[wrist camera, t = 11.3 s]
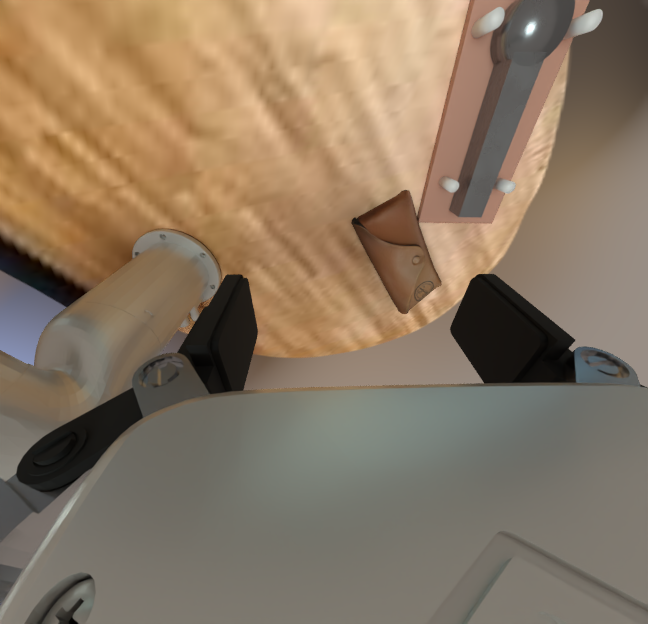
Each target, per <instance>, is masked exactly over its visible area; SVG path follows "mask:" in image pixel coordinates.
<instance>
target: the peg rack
mask: <svg viewBox="0 0 648 624" xmlns="http://www.w3.org/2000/svg"><path fill="white" fill-rule="evenodd" d="M514 1H515V0H470V4H469V8H468V12H467V16H466V21H465V25H464V29H463V33H462V37H461V41H460V45H459V49H458V53H457V57H456V61H455V65H454V69H453V73H452V78H451V82H450V86H449V90H448V94H447V98H446V102H445V106H444V110H443V114H442V118H441V122H440V126H439V130H438V135H437V139H436V143H435V147H434V151H433V155H432V159H431V163H430V167H429V171H428V175H427V179H426V183H425V187H424V192H423V196H422V200H421V204H420V208H419V212H418V216H417V220H418V222H433V223H492V222H493V220H494V218H495V215H496V213H497V211H498V208H499V206H500V204H501V202H502V199H503V197H504V195H505V193H511V192H512V191H513V190H514V189H515V186H516V185H515V183H514V182H512V181H511V179H512V176H513V174H514V172H515V170H516V167H517V165H518V163H519V160H520V158H521V156H522V154H523V151H524V149H525V147H526V144H527V142H528V140H529V138H530V135H531V133H532V131H533V129H534V126H535V124H536V122H537V119H538V117H539V115H540V113H541V110H542V108H543V106H544V103H545V101H546V99H547V97H548V94H549V92H550V90H551V87H552V85H553V83H554V81H555V78H556V76H557V74H558V71H559V69H560V67H561V65H562V62H563V60H564V58H565V55H566V53H567V51H568V49H569V46H570V44H571V42H572V39H573V37H574V36H577V35H580V34H583V33H586V32H589V31H592V30H593V29H595V28H596V27H597V26H598V25H599V23H600V21H601V19H602V15H603V13H602V10H601V9H597V10H594V11H592V12H589V13H587V14H584V12H585V10H586V8H587V5H588V3H589V1H590V0H575V9H574V14H573V18H572V21H571V24H570V26H569V28H568V31H567V33H566V34H565V36H564V38H563V39H562V41H561V42H560V44H559V45H558V46H557V48H556V49H555V50H554V51H553V52H552V53H551V54H550V55H549V56H548V57H547V58H545V59H544V61H543V64H542V66H541V69H540V71H539V74H538V76H537V79H536V81H535V84H534V86H533V89H532V91H531V94H530V96H529V99H528V102H527V104H526V107H525V109H524V112H523V114H522V117H521V119H520V122H519V124H518V127H517V129H516V132H515V134H514V137H513V139H512V142H511V144H510V147H509V149H508V152H507V154H506V157H505V159H504V162H503V164H502V167H501V169H500V172H499V175H498V177H497V180H496V182H495V185H494V187H493V190H492V192H491V195H490V197H489V200H488V202H487V205H486V207H485V210H484V212H483V215H482V217H457V216H456V215H455V214H453V213H452V212H451V211H449V208H450V205H451V201H452V198H453V195H454V192H455V191H457V190H458V188H459V182H458V179H459V176H460V172H461V169H462V166H463V163H464V159H465V156H466V153H467V150H468V147H469V143H470V140H471V137H472V134H473V130H474V127H475V124H476V121H477V118H478V114H479V111H480V108H481V105H482V101H483V98H484V95H485V92H486V89H487V85H488V82H489V79H490V76H491V72H492V69H493V66H494V64H493V62H492V60H491V56H490V43H491V38H492V34H493V31H494V30H495V29H497V28H498V27H499V26H500V25H501V24H502V22H503V20H504V16H505V12H504V11H505V10H506V9H507V8H508V7H509V6H510V5H511V4H512V3H513V2H514ZM583 14H584V15H583Z"/></svg>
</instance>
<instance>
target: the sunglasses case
mask: <svg viewBox="0 0 648 624" xmlns="http://www.w3.org/2000/svg"><path fill="white" fill-rule="evenodd" d="M352 225H353V227H354V229H355V231H356V233H357V235H358V237H359V239H360V241H361V243H362V245H363V247H364V249H365V250H366V252H367V254H368V256H369V258H370V260H371V262H372V263H373V265H374V267H375V269H376V271H377V273H378V275H379V276H380V278H381V280H382V282H383V284H384V286H385V288H386V290H387V291H388V293H389V295H390V297H391V299H392V300H393V302H394V304H395V305H396V307H397V309H398V311H399V312H400V313H402V314H407V313H408V311H409V310H410V309H411V308H412V307H413V306H415V305H416V304H417V303H418V302H420V301H421V300H422V299H423V298H424V297H426V296H427V295H428V294H429V293H430V292H432V291H433V290H434V289H435V288H436V287H439V286H441V285H442V284H441V280H440V278H439V277H438V274H437V272H436V270H435V268H434V265H433V263H432V260H431V258H430V255H429V252H428V250H427V247H426V244H425V241H424V238H423V235H422V232H421V229H420V227H419V223H418V220H417V216H416V212H415V208H414V205H413V201H412V197H411V195H410V192H409V191H407V190H404V191H402V192H401V193H399V194H398V195H397V196H396V197H394V198H392V199H390V200H388V201H386V202H385V203H383V204H381V205H379V206H377V207H376V208H374V209H372V210H370V211H368V212H367V213H365V214H363V215H361V216H359V217H358V218H357V219H356V218H353V220H352Z"/></svg>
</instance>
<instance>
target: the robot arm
mask: <svg viewBox="0 0 648 624" xmlns="http://www.w3.org/2000/svg"><path fill="white" fill-rule="evenodd" d="M132 257H133V259H132V260H131V261H129V262H128V263H127V264H125V265H124V266H123V267H121V268H120V269H119V270H117V271H116V272H115V273H113V274H112V275H110V276H109V277H108V278H106V279H105V280H104V281H102V282H101V283H100V284H98V285H97V286H96V287H94V288H93V289H91V290H90V291H89V292H87V293H86V294H85V295H83V296H82V297H81V298H79V299H78V300H77V301H75V302H74V303H72V304H71V305H70V306H68V307H67V308H65V309H64V310H63V311H61V312H60V313H59V314H58V315H56V316H55V317H54V318H53V319H52V320H51V321H50V322H49V323H48V324H47V326H46V327H45V329H44V331H43V332H42V334H41V336H40V338H39V341H38V345H37V348H36V354H35V360H34V366H33V365H30V364H26V363H24V362H22V361H20V360H18V359H16V358H14V357H12V356H10V355H8V354H6V353H5V352H3V351H1V350H0V624H648V388H647V387H645V386H642V385H640V383H639V380H638V377H637V374H636V373H635V371H634V370H633V368H632V367H631V366H629V365H628V364H627V363H626V362H624V361H623V360H621V359H620V358H618V357H616V356H614V355H613V354H611V353H608V352H605V351H603V350H600V349H597V348H593V347H578V348H576V349H575V350H574V351H573V352H571V351H570V350H569V349H568V348H569V347H570V346H571V345H572V344H573V342H574V341H575V339H574V338H572V337H571V336H570V335H569V334H567V333H566V332H565V331H564V330H563V329H561V328H560V327H559V326H558V325H556V324H555V323H554V322H553V321H552V320H550V319H549V318H548V317H547V316H545V315H544V314H543V313H542V312H540V311H539V310H538V309H537V308H536V307H534V306H533V305H532V304H530V303H529V302H528V301H527V300H526V299H524V298H523V297H522V296H521V295H520V294H518V293H517V292H516V291H515V290H513V289H512V288H511V287H510V286H509V285H507V284H506V283H505V282H504V281H502V280H501V279H500V278H498V277H497V276H496V275H494V274H478V275H477V276H476V277H475V278H473V279H471V281H470V283H469V286H468V288H467V290H466V293H465V295H464V297H463V299H462V302H461V304H460V306H459V309H458V311H457V313H456V316H455V318H454V320H453V322H452V325H451V328H450V330H451V334H452V336H453V337H454V339H455V340H456V342H457V343H458V344H459V346H460V347H461V349H462V350H463V352H464V354H465V355H466V357H467V358H468V360H469V361H470V362H471V364H472V365H473V367H474V368H475V370H476V371H477V373H478V374H479V376H480V377H481V379H482V380H483V382H484V384H434V385H433V384H431V385H430V384H429V385H386V386H385V385H383V386H347V387H346V386H345V387H308V388H284V389H260V390H244V391H243V389H244V385H245V381H246V377H247V374H248V370H249V366H250V362H251V358H252V355H253V351H254V347H255V343H256V339H257V334H258V329H257V324H256V319H255V313H254V308H253V303H252V298H251V293H250V288H249V282H248V279H247V278H243V276H242V275H226V276H225V278H224V280H223V282H222V283H221V285H220V282H221V272H220V269H219V265H218V263H217V261H216V259H215V258H214V256H213V255H212V254H211V252H210V251H209V250H208V249H207V248H206V247H205V246H204V245H203V244H201V243H200V242H199V241H197V240H196V239H194V238H192V237H191V236H189V235H187V234H184V233H182V232H179V231H175V230H170V229H158V230H153V231H150V232H148V233H146V234H144V235H143V236H141V237H140V238H139V239H138V240H137V241H136V243H135V245H134V247H133V251H132ZM219 286H220V287H219ZM216 291H217V292H216ZM215 293H216V294H215ZM214 294H215V295H214ZM213 295H214V297H213V299H212V301H211V302H210V304H209V306H207V307H205V308H204V309H203V310H202V312H201V314H200V313H199V311H198V309H197V308H198V306H199V305H200V303H201V302H204V301H207V300H208V299H210V298H211V297H212V296H213ZM189 313H190V315H191V318H192V320H193V321H196V322H195V324H194V325H193V327H192V329H191V330H190V332H189V334H188V336H187V337H186V339H185V341H184V342H183V344H182V346H181V347H180V349H179V351H178V352H177V353H166V354H162V355H160V354H161V353H162V351H163V350H164V349H165V347H166V346H167V344H168V343H169V341H170V340H171V338H172V337H173V336H174V334H175V333H176V331H177V330H178V328H179V327H186V326H188V325H189V324H190V320H189V318H188V314H189Z"/></svg>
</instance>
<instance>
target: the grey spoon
mask: <svg viewBox="0 0 648 624" xmlns="http://www.w3.org/2000/svg"><path fill="white" fill-rule="evenodd" d="M574 9H575V0H515V1H514V2H513V3H512V4H511V5H510V6H509V7H508V8H507V9H506V10H505V11H504V12H505V16H504V20H503V22H502V24H501V25H500V26H499V27H498V28H497V29H495V30H494V31H493V34H492V38H491V43H490V56H491V60H492V62H493V64H494V66H493V69H492V72H491V76H490V79H489V82H488V85H487V89H486V92H485V95H484V98H483V101H482V105H481V108H480V111H479V114H478V118H477V121H476V124H475V127H474V130H473V134H472V137H471V140H470V143H469V147H468V150H467V153H466V156H465V159H464V163H463V166H462V169H461V172H460V176H459V179H458V182H459V188H458V190H457V191H455V192H454V195H453V198H452V201H451V205H450V208H449V211H451V212H452V213H453V214H455V215H456V216H457V217H482V215H483V212H484V210H485V207H486V205H487V202H488V200H489V197H490V195H491V192H492V190H493V187H494V185H495V182H496V180H497V177H498V175H499V172H500V169H501V167H502V164H503V162H504V159H505V157H506V154H507V152H508V149H509V147H510V144H511V142H512V139H513V137H514V134H515V132H516V129H517V127H518V124H519V122H520V119H521V117H522V114H523V112H524V109H525V107H526V104H527V102H528V99H529V96H530V94H531V91H532V89H533V86H534V84H535V81H536V79H537V76H538V74H539V71H540V69H541V66H542V64H543V61H544V59H545V58H547V57H548V56H549V55H550V54H551V53H552V52H553V51H554V50H555V49H556V48H557V46H558V45H559V44H560V42H561V41H562V39H563V38H564V36H565V34H566V33H567V31H568V28H569V26H570V24H571V21H572V18H573V14H574Z"/></svg>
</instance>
